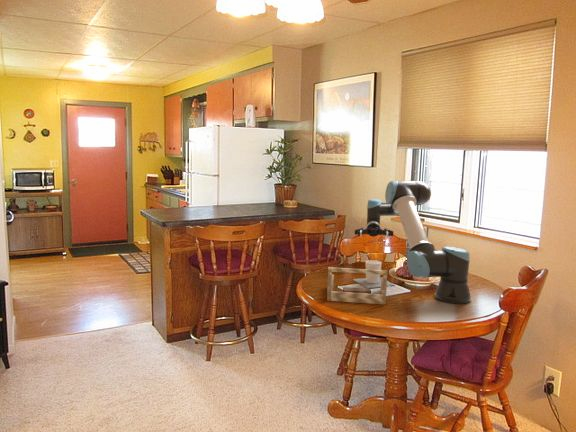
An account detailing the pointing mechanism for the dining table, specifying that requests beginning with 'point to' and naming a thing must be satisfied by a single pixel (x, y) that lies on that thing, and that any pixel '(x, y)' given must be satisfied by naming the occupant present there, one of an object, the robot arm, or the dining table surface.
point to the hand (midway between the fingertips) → (374, 235)
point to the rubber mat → (371, 285)
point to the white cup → (373, 266)
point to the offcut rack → (356, 296)
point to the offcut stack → (357, 290)
